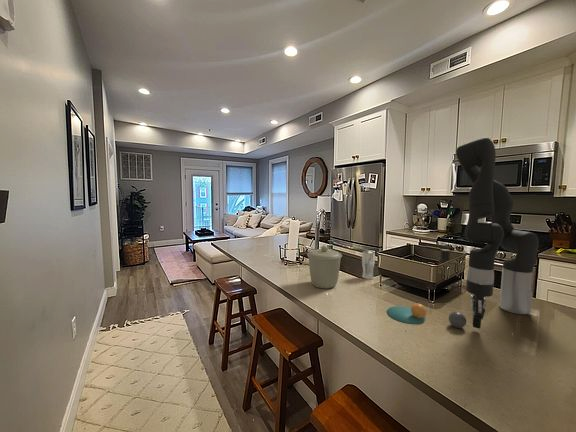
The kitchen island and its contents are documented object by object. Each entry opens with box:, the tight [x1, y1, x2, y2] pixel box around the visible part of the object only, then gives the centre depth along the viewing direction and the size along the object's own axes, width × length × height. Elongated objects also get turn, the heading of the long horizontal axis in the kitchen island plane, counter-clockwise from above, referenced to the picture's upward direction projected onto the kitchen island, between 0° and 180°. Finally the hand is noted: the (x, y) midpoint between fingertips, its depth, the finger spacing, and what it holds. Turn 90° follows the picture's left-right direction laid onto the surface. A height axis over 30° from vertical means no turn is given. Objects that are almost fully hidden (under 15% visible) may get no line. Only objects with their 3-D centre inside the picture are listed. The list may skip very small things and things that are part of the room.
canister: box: [306, 245, 343, 289], centre depth 134 cm, size 18×18×21 cm
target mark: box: [386, 305, 426, 325], centre depth 103 cm, size 14×14×1 cm
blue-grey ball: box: [448, 311, 467, 329], centre depth 93 cm, size 6×6×6 cm
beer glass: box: [361, 250, 376, 280], centre depth 145 cm, size 7×7×15 cm
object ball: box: [410, 303, 427, 318], centre depth 100 cm, size 6×6×6 cm
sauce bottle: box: [437, 248, 452, 291], centre depth 129 cm, size 6×6×20 cm
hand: (476, 326), depth 91 cm, fingers closed
